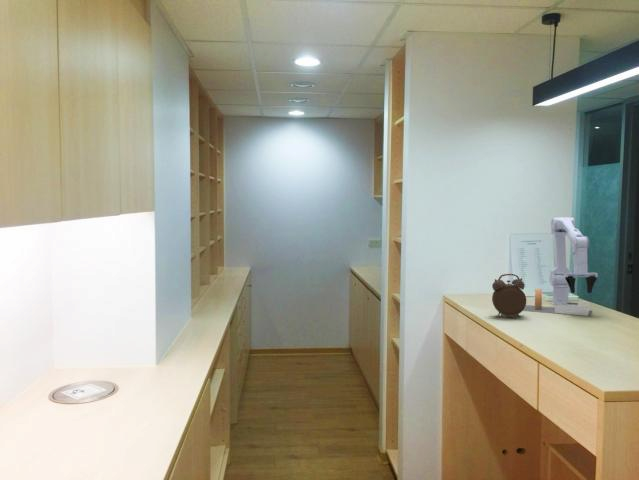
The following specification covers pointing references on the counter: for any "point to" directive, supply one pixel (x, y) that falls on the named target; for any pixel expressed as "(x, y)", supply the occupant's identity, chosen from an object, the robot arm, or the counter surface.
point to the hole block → (572, 307)
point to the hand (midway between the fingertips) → (581, 292)
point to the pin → (538, 299)
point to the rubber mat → (547, 310)
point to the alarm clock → (509, 296)
